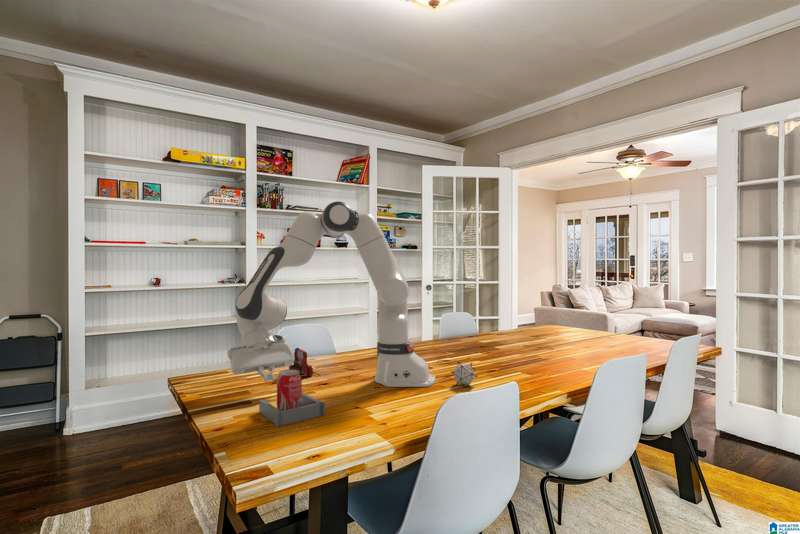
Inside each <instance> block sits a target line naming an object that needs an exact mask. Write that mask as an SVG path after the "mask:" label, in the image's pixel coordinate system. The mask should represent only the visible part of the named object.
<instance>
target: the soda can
mask: <svg viewBox="0 0 800 534" xmlns="http://www.w3.org/2000/svg"><path fill="white" fill-rule="evenodd" d="M302 382H303V381H302V375H301V374H299V371H298V370H289V369H285V370H281V371H279V372H278V376H277V378H276V408H277V409H279V410H280V411H284V410H288V409H293V408H297V407H302V392H303V388H302V387H303V385H302V384H303V383H302Z"/></svg>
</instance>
